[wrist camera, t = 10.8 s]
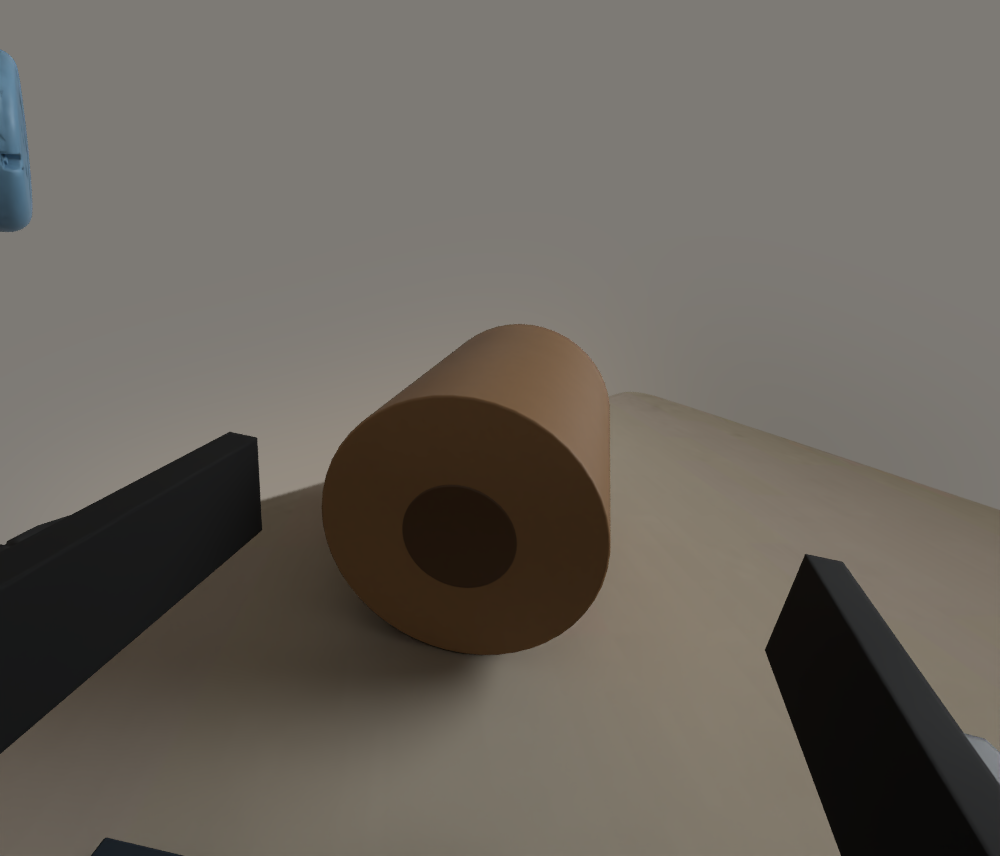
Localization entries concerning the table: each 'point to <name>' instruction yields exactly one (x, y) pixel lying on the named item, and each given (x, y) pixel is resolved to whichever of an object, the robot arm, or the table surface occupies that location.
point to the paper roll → (480, 496)
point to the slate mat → (126, 849)
